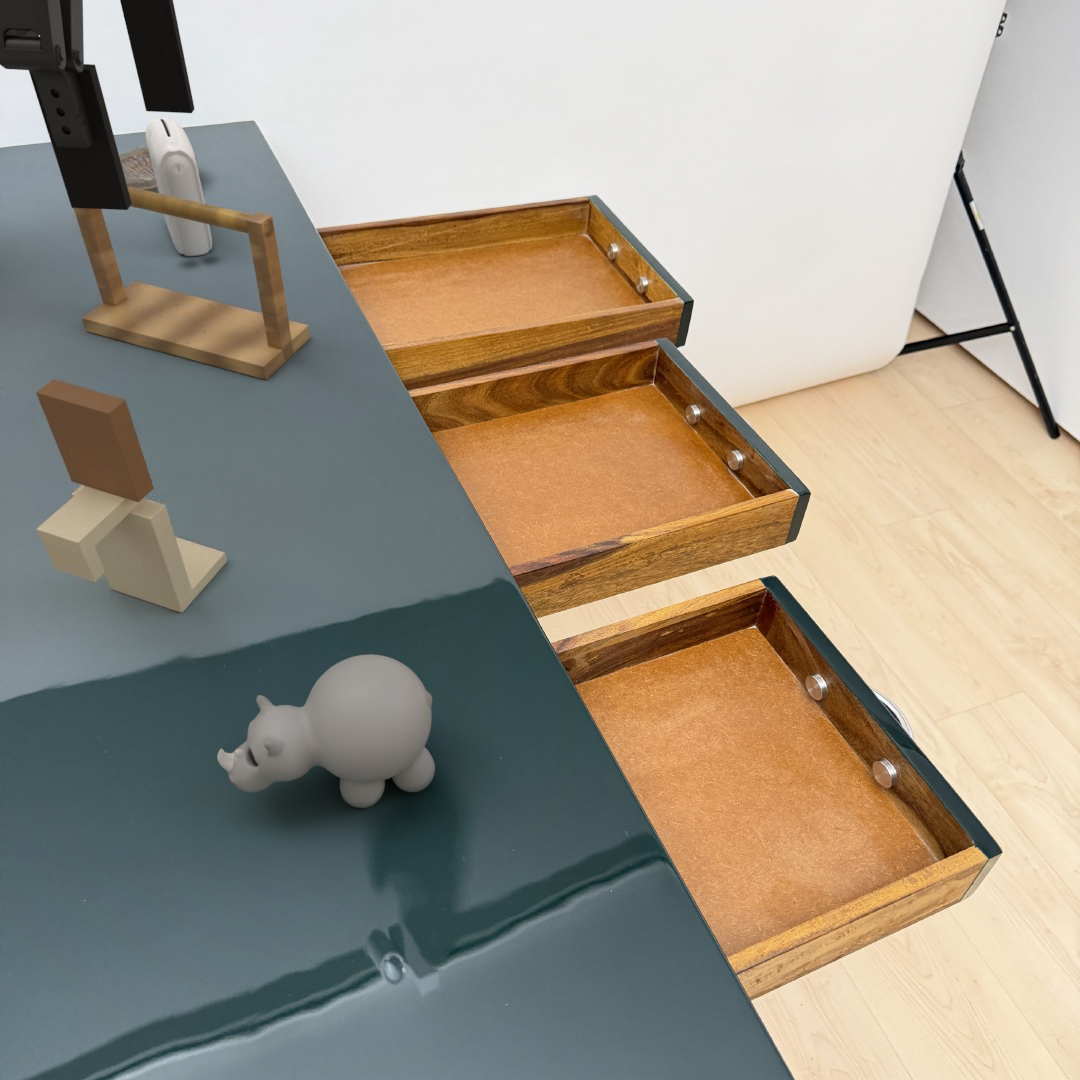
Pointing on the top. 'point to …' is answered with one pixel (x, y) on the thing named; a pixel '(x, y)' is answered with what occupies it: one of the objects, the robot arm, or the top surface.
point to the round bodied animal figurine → (343, 733)
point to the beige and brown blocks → (116, 506)
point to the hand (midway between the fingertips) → (139, 154)
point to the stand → (188, 319)
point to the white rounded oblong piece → (178, 182)
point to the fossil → (139, 169)
